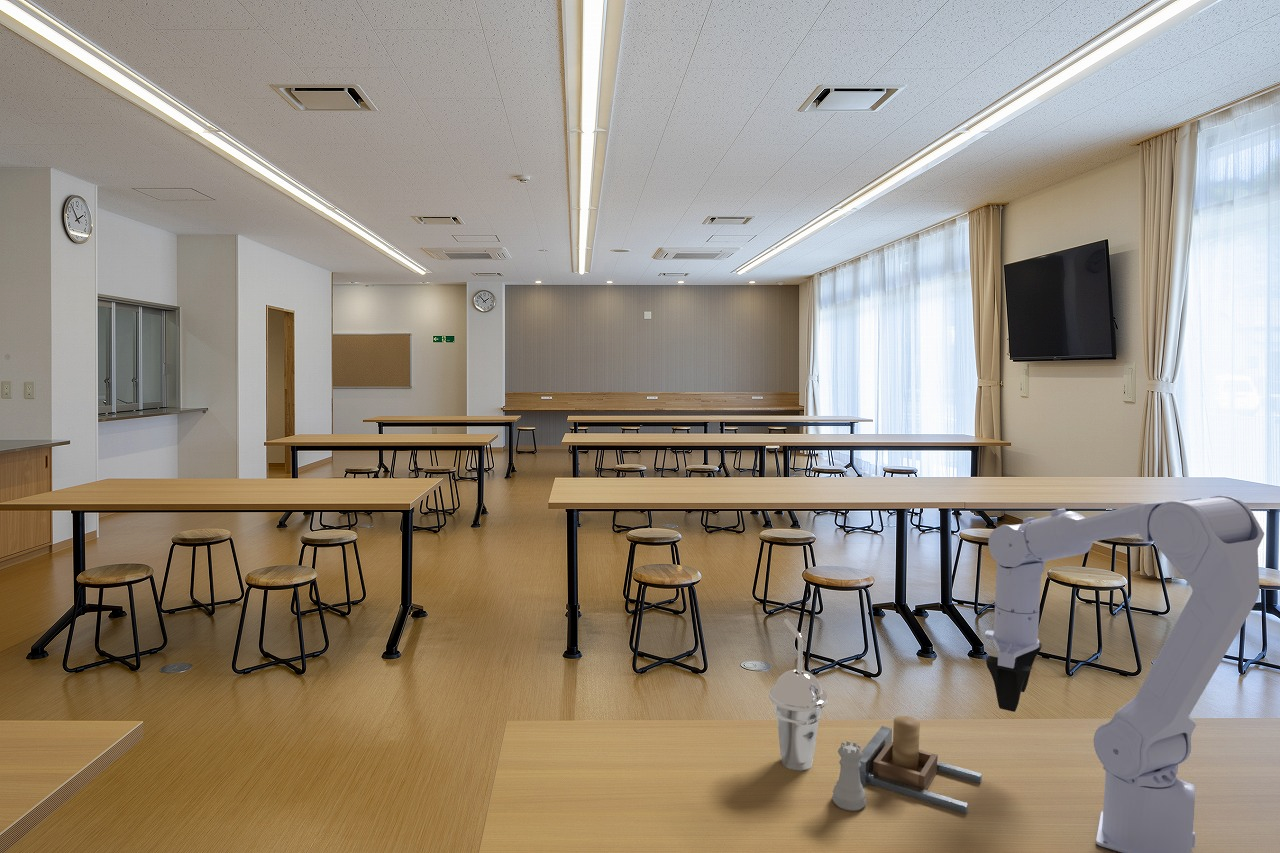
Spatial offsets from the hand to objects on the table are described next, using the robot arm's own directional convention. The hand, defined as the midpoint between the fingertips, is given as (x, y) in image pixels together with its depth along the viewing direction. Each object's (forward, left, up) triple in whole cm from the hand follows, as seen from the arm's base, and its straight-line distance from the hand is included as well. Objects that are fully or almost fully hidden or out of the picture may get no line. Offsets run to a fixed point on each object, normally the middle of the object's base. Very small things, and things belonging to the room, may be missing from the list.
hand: (1012, 699), depth 114 cm
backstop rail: (+10, +11, -10) cm, 18 cm away
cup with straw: (+26, +16, -10) cm, 32 cm away
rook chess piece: (+16, +22, -10) cm, 29 cm away
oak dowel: (+12, +11, -10) cm, 19 cm away
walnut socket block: (+12, +11, -10) cm, 19 cm away
